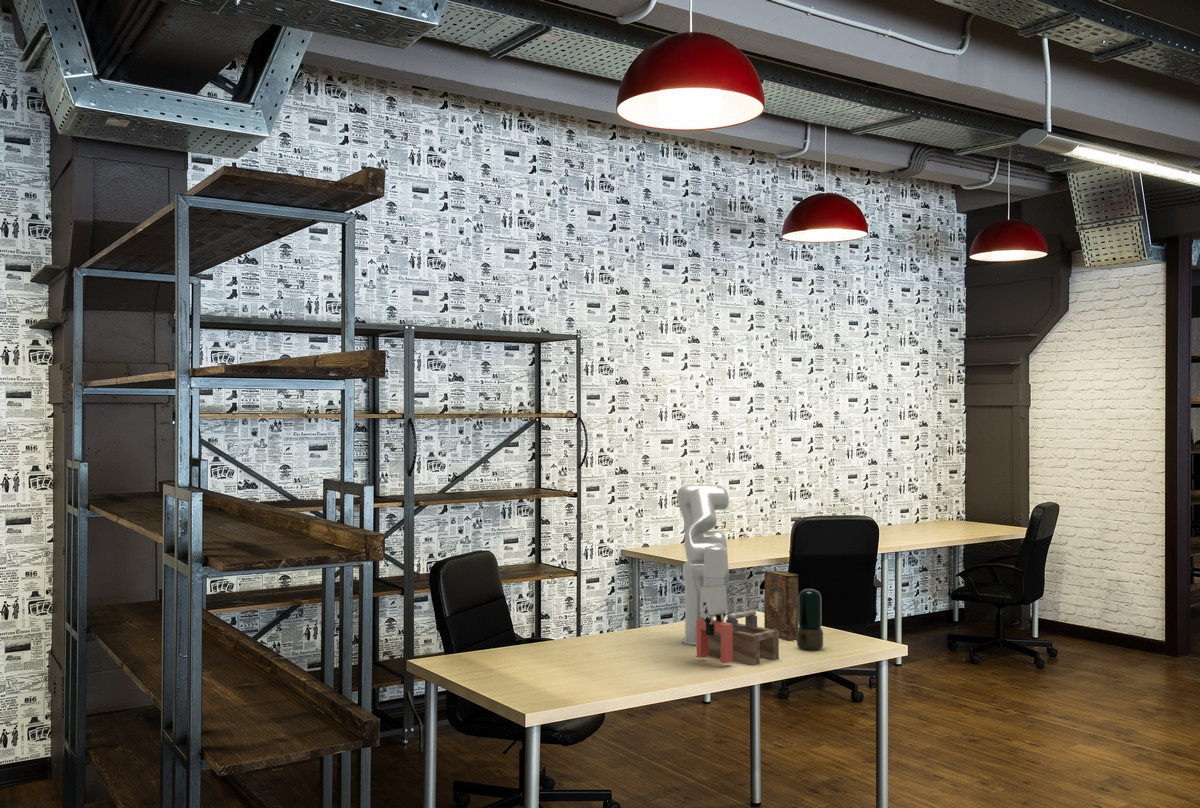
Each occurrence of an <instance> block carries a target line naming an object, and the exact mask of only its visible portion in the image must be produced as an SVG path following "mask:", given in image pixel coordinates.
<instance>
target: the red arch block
mask: <svg viewBox="0 0 1200 808" xmlns="http://www.w3.org/2000/svg"><path fill="white" fill-rule="evenodd" d="M713 624H714V632H717V633H721V658H720V663H722V664H728V663H732V662H734V661H733V624H731V623H726V621H724V622H721V621H716V619H713ZM696 657H697V658H701V659H702V658H705V657H709V655H708V635H706V623H705V621H704V620H703V619H698V620H697V645H696Z"/></svg>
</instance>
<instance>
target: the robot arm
mask: <svg viewBox="0 0 1200 808" xmlns="http://www.w3.org/2000/svg"><path fill="white" fill-rule="evenodd" d="M676 495H677V503H678V504H677V505H678V507H679V511H680V513H681V515H682V518H683V524H684V525H683V527H684V528H683V529H684V549H685V555H686V561H685V562H684V563H683V565H682V577H683V582H684V599H685V600H684V603H685V604H684V610H685V611H684V612H685V613H684V614H685V615H684V618H685V619H684V621H685V623H684V625H685V626H684V628H685V629H684V630H685V631H684V633H685V634H684V635H685V636H684V637H682V638H681V639H680V641H681V643H682V644H685V645H689V646H690V645H691V646H697V620H698V619H703V620H704V621H705V623H706V635H710V636H714V624H713V620H714V616H715V620H716V621H721V622H725V618H726V617H727V615H728V613H729V609H728V592H727V586H726V583H727V582H728V580H729V573H730V572H729V571H730V570H729V561H728V560H729V559H728V555H729V554H728V544H727V538H726V534H725V533H723V532H722V531H719V530H714V531H713V530H712V529H714V528H715V527H716V525H717V516H716V511H718V510H719V511H721V510H722V511H723V510H724V511H725V510H727V508H728V507H729V503H730V498H729V497H730V496H729V494H728V491H727V489H726V487H723V486H722V485H719V484H688V485H684V486H683V485H682V486H681V487H680V488H679V489H678V491H677V494H676ZM715 633H717V632H715ZM719 634H721V633H719Z"/></svg>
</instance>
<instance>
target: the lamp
mask: <svg viewBox="0 0 1200 808" xmlns="http://www.w3.org/2000/svg"><path fill="white" fill-rule="evenodd" d="M822 623H823V622H822V595H821V593H820V591H818V590H816V589H813V588H805V589H803V590H801V591H800V592H798V630H797V640H796V646H797V647H798V648H799V649H800V650H804V651H819V650H822V648H823V647H824V631H823V629H822Z"/></svg>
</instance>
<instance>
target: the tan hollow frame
mask: <svg viewBox="0 0 1200 808" xmlns="http://www.w3.org/2000/svg"><path fill="white" fill-rule="evenodd" d="M756 614H757V611H756V610H755V609H749V610H745V611H741V612H740V611H739V612H735V613H729V614H726V618H727V619H725V622H726V623H731V624H733V662H738V663H740V664H741V663H742V664H747V665H752V666H757V665H760V661H761V660H760V659H765V660H766V659H767V660H771V661H776V660H779V658H780V653H779V651H780V649H779V647H780V645H779V643H780V642H779V639H780V638H779V630H773V629H767V628H764V627H761V626H758V615H756ZM742 618H745V622H744V623H745V624H743V623H739V620H738V619H742ZM708 657H714V658H720V659H721V634H719V633H715V632H714V636H710V635H708Z"/></svg>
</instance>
